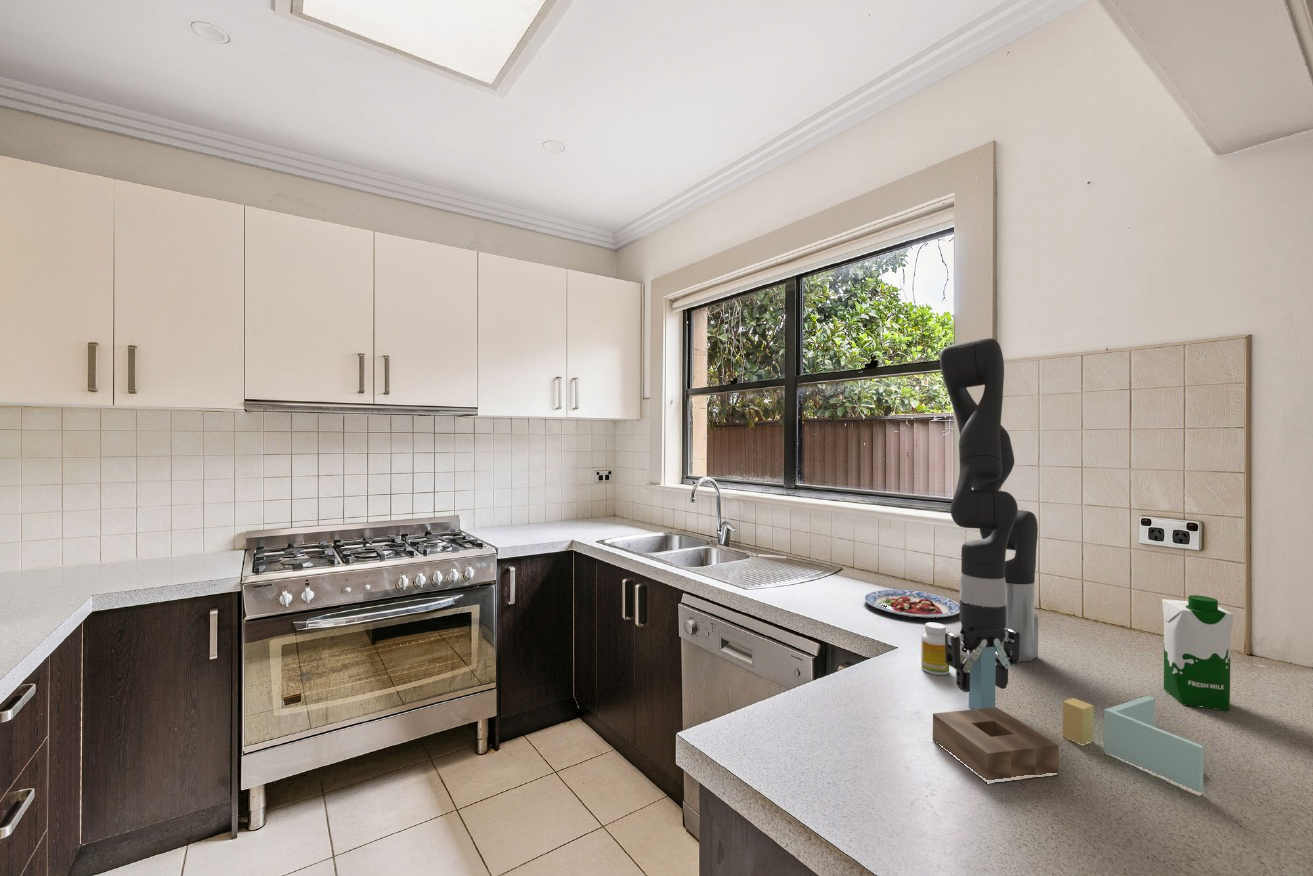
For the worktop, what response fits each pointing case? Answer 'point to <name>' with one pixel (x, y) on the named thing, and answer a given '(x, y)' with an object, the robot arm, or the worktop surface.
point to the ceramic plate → (913, 603)
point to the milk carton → (1197, 651)
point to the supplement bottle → (934, 649)
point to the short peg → (1078, 720)
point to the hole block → (995, 743)
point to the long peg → (983, 680)
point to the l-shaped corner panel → (1152, 744)
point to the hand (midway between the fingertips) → (982, 688)
